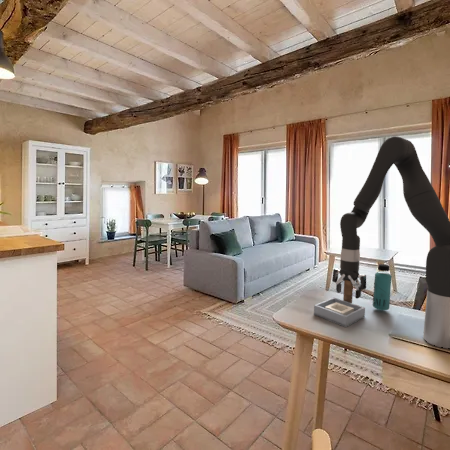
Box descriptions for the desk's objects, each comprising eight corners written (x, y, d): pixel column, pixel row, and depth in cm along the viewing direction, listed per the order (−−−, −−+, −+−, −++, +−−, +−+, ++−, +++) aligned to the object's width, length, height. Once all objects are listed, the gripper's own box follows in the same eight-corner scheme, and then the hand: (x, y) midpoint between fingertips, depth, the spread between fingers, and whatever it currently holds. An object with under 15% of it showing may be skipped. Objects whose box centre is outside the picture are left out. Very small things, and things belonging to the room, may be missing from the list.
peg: (353, 306, 128) (355, 280, 127) (348, 308, 126) (350, 281, 125) (345, 304, 131) (347, 278, 130) (341, 306, 129) (342, 279, 128)
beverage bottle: (385, 307, 127) (388, 262, 125) (392, 314, 121) (396, 267, 118) (369, 307, 128) (372, 262, 125) (375, 313, 121) (379, 266, 119)
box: (364, 317, 118) (365, 307, 118) (345, 327, 110) (346, 317, 109) (333, 306, 129) (333, 297, 129) (313, 314, 121) (314, 305, 120)
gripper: (370, 260, 123) (368, 298, 125) (339, 254, 134) (337, 288, 136) (361, 263, 118) (359, 302, 120) (330, 256, 129) (328, 292, 131)
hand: (347, 295), depth 128 cm, fingers open, 8 cm apart
